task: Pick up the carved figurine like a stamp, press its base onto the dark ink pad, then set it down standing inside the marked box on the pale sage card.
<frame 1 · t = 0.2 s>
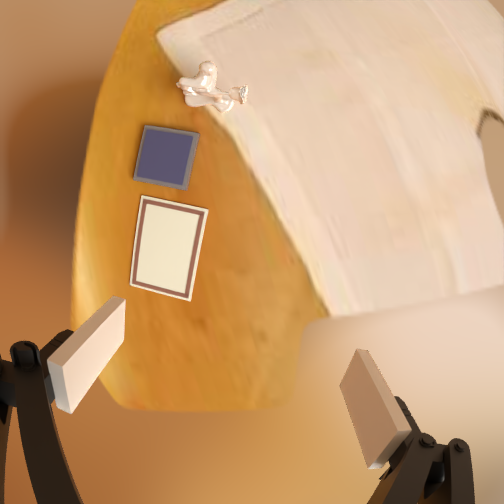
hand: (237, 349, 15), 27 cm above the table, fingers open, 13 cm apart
ink pad: (166, 157, 39), on the table
figurine: (216, 99, 37), on the table
print sheet: (166, 249, 42), on the table
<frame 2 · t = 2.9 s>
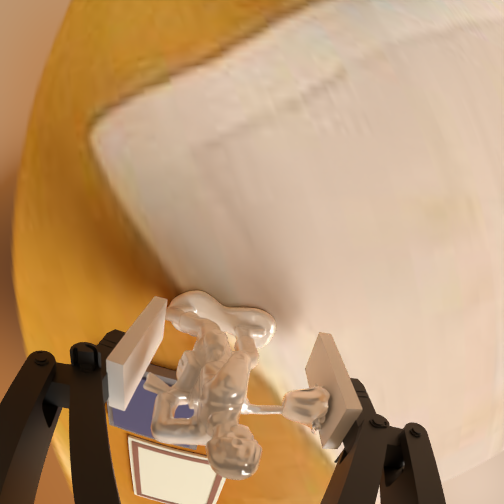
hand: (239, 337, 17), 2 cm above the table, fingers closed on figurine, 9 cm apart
ink pad: (155, 402, 21), on the table
figurine: (238, 317, 19), on the table, touching gripper
print sheet: (175, 481, 24), on the table
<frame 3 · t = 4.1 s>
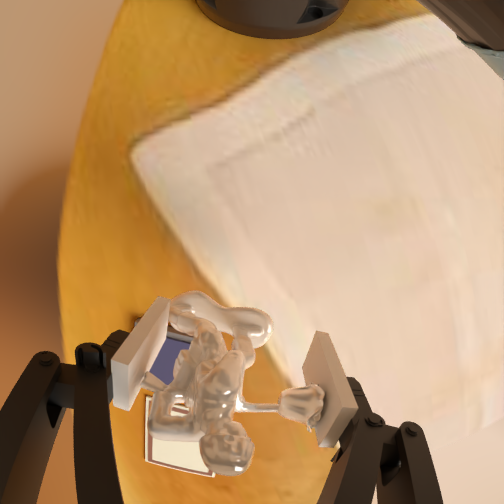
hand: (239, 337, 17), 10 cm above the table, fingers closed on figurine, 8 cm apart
ink pad: (172, 360, 28), on the table
figurine: (236, 317, 19), point 7 cm above the table, touching gripper
print sheet: (183, 442, 31), on the table
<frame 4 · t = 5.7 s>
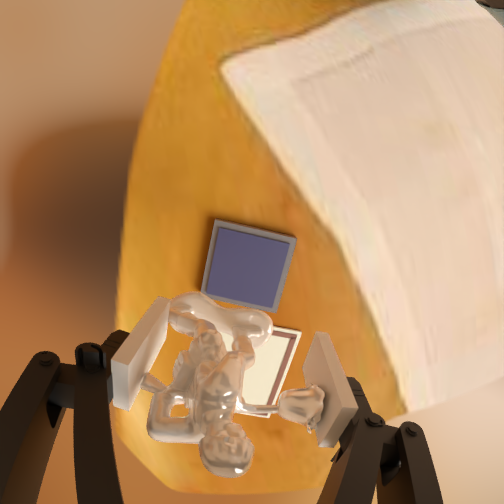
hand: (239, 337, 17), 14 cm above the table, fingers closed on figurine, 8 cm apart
ink pad: (247, 265, 30), on the table
figurine: (236, 317, 19), point 11 cm above the table, touching gripper
print sheet: (243, 371, 34), on the table
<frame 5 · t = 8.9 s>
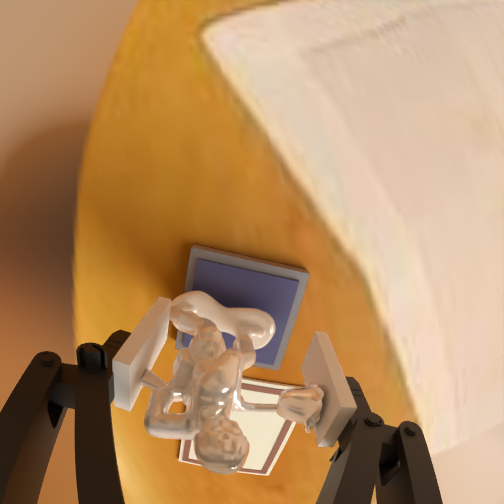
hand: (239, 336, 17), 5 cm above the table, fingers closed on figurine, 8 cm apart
ink pad: (238, 309, 21), on the table
figurine: (238, 317, 19), point 2 cm above the table, touching gripper
print sheet: (236, 431, 25), on the table
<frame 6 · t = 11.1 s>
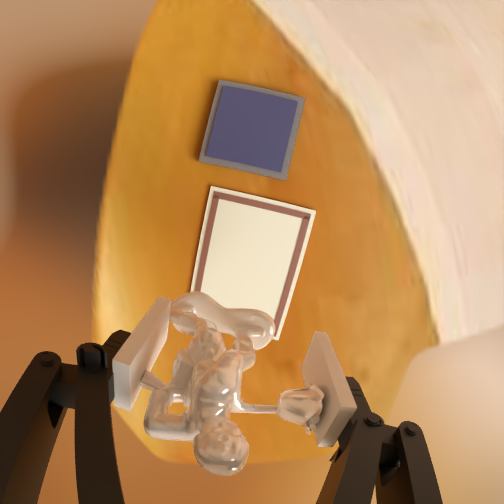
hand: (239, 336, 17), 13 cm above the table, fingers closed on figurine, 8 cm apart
ink pad: (252, 129, 26), on the table
figurine: (238, 318, 19), point 10 cm above the table, touching gripper
print sheet: (247, 268, 29), on the table
when the fingers open (3 cm above the table, at t = 13.1 s): figurine stays where it is, resting on print sheet.
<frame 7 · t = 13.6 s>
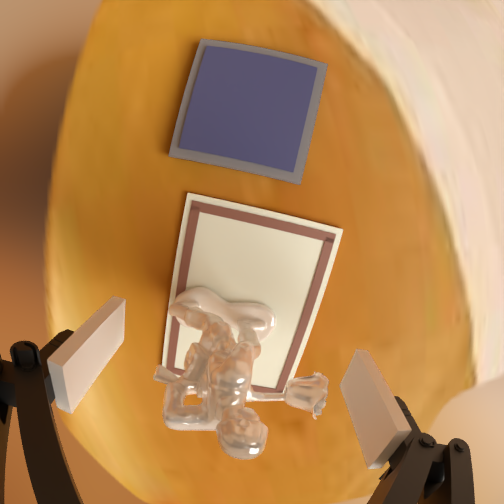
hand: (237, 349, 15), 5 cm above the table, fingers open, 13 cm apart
ink pad: (249, 108, 17), on the table
figurine: (240, 312, 20), resting on print sheet
print sheet: (242, 310, 20), on the table
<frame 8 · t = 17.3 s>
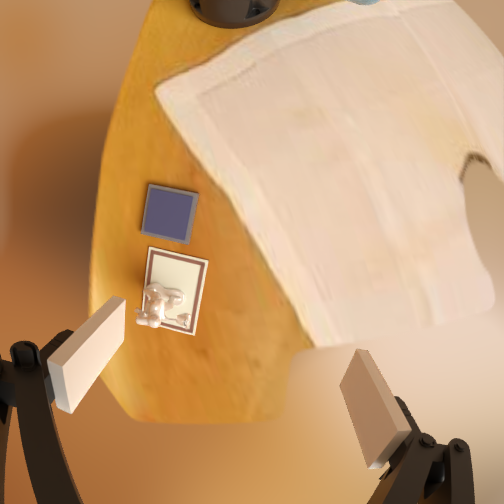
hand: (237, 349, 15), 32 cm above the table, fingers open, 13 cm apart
ink pad: (169, 213, 45), on the table
figurine: (171, 293, 49), resting on print sheet
print sheet: (172, 292, 49), on the table
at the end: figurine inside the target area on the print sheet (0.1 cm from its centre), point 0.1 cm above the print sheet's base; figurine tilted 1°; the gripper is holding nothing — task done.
